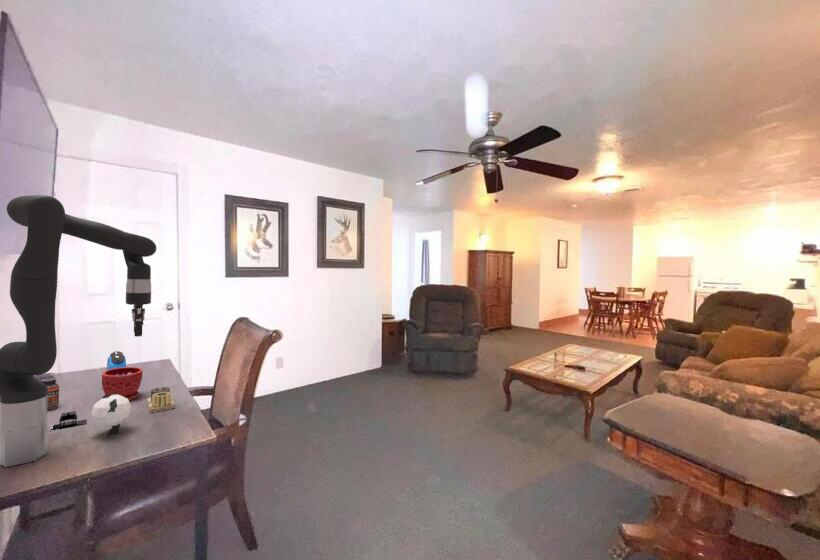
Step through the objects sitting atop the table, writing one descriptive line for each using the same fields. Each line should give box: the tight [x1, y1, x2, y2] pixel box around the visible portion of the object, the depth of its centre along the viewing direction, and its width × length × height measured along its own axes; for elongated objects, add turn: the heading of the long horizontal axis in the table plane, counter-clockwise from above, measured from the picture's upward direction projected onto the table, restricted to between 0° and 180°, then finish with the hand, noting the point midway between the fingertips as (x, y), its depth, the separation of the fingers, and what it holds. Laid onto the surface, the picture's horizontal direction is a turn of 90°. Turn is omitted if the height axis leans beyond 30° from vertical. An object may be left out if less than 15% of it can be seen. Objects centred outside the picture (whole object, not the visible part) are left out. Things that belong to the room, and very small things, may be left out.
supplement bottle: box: [40, 377, 60, 412], centre depth 135 cm, size 6×6×11 cm
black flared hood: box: [49, 410, 88, 432], centre depth 123 cm, size 12×7×5 cm, turn 131°
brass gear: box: [152, 391, 172, 407], centre depth 140 cm, size 6×6×4 cm
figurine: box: [90, 393, 132, 437], centre depth 118 cm, size 18×10×13 cm, turn 38°
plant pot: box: [101, 366, 143, 401], centre depth 147 cm, size 13×13×12 cm
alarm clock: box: [106, 350, 127, 375], centre depth 163 cm, size 13×6×15 cm, turn 44°
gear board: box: [146, 386, 176, 414], centre depth 142 cm, size 14×8×6 cm, turn 39°
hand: (137, 334), depth 133 cm, fingers open, 8 cm apart
